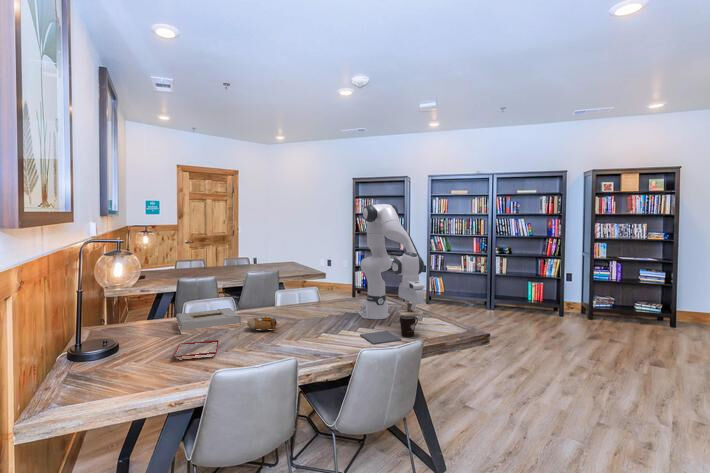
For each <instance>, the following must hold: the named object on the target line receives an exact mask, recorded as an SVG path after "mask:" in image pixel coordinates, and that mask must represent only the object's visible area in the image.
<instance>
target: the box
mask: <svg viewBox="0 0 710 473" xmlns="http://www.w3.org/2000/svg"><path fill="white" fill-rule="evenodd" d="M176 319H177V321H178V324H179V326H180V330H186V329H196V328H204V327H212V326H220V325H227V324H236V323H240V324H241V320H242V319H241V316H240V314H238V313H237V312H236V311H234V310H233V309H232V308H231V307H226V308H217V309H212V310H204V311H203V310H202V311H194V312H193V311H192V312H181V313H176V316H175V320H176Z"/></svg>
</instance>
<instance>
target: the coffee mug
mask: <svg viewBox="0 0 710 473" xmlns="http://www.w3.org/2000/svg"><path fill="white" fill-rule="evenodd" d="M418 322H419V318H418V316H403V315H400V316H399V323H400V333H401V337H403V338H413V337H414V335H415V328H416V325H417V324H418Z"/></svg>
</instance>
